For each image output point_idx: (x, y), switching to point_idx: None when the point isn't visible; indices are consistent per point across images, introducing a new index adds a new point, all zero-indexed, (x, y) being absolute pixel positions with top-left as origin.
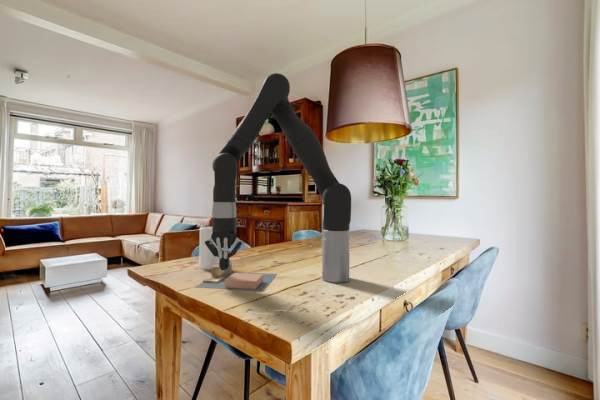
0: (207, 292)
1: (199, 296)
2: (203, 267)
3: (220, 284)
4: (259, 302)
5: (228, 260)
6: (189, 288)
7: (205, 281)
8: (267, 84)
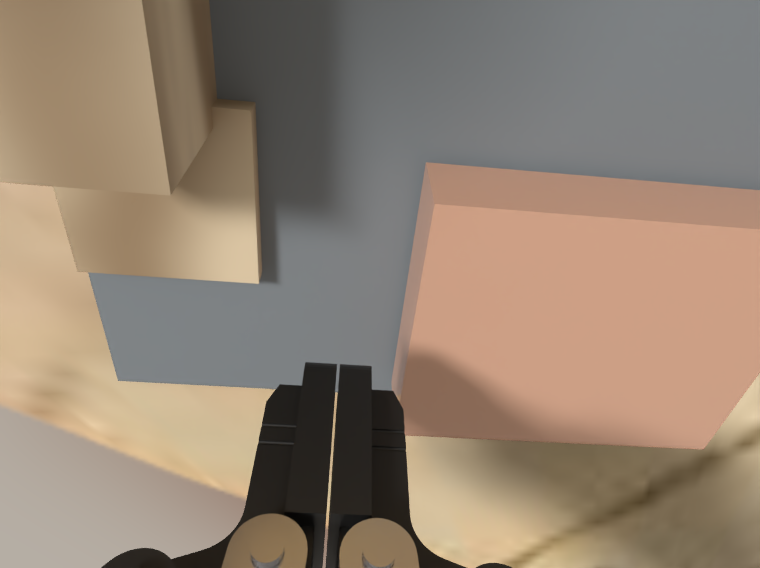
0: None
1: None
2: None
3: (315, 303)
4: (660, 520)
5: (396, 501)
6: (78, 377)
7: (117, 270)
8: None
